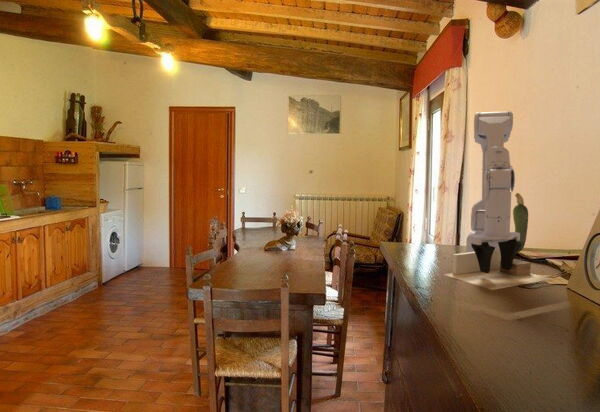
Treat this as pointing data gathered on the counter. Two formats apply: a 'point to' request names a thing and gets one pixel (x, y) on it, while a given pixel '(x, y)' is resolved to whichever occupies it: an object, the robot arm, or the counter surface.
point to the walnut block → (517, 268)
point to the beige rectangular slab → (472, 262)
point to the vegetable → (520, 220)
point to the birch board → (496, 279)
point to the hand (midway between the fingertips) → (495, 270)
